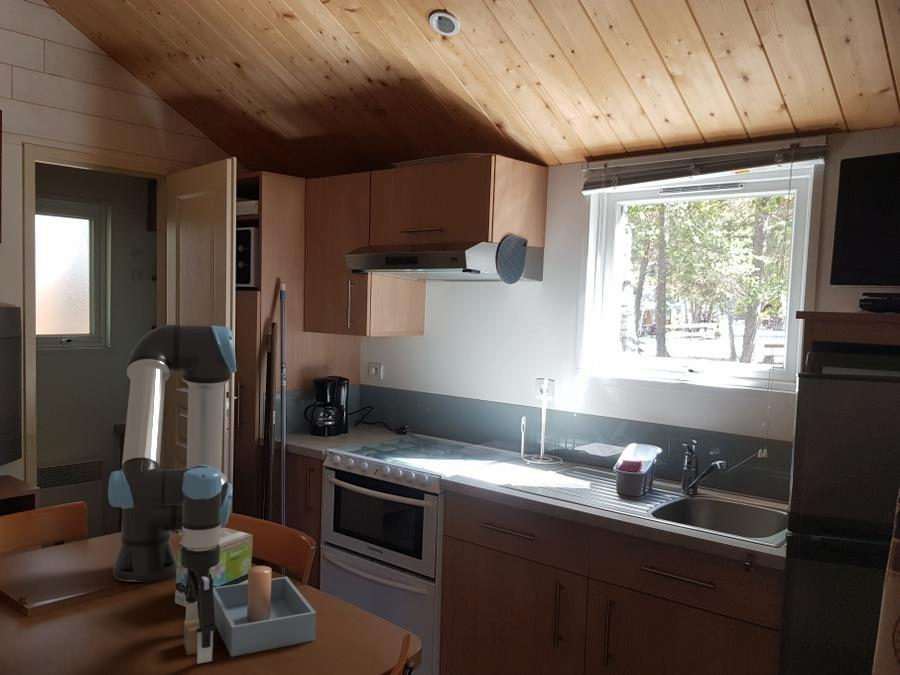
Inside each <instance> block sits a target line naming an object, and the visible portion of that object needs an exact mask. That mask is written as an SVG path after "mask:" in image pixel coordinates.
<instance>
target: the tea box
mask: <svg viewBox="0 0 900 675" xmlns="http://www.w3.org/2000/svg"><path fill="white" fill-rule="evenodd" d="M253 537H254V536H253V534H251V533H248V532H247V533H246V532H243V531H239V530H235V529H232V528H228V527H225V526H224V527H222V528H221V535H220V543H219V546H220V561H219V563H218V564H217V565H216V566H214V567H211V568H210V569H209V574H211V575H212V578H213V588H214V587H221V586H227V585H234V584H240V583H247V582H248V570H249V569H250V568H252V560H253V558H252V557H253V540H254V539H253ZM182 547H183V545H182V541H179V542H177V552H176V553H177V555H176V561H177V567H176V571H175V591H174V592H175V593H174V604H176V605H178V606H182V607H185V608H186V603H188V602H186V596H185V594H184V592H185V585H186V578H187V570H188V569H187V568H184V567H183V566H182V565H181V548H182ZM196 602H197V601H196Z"/></svg>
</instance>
